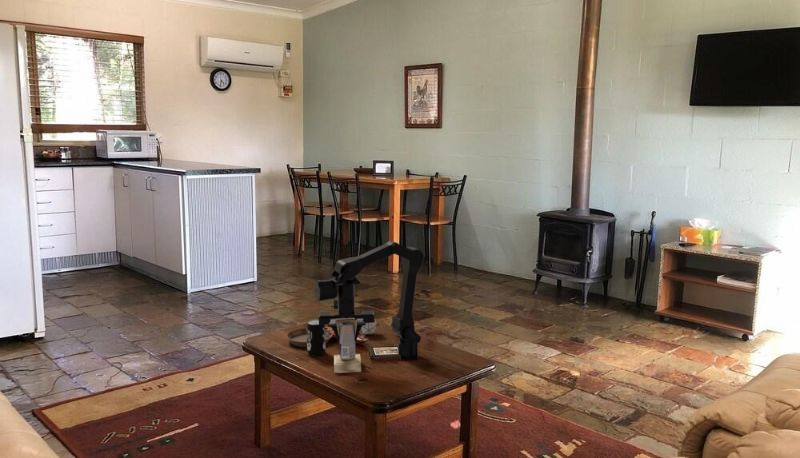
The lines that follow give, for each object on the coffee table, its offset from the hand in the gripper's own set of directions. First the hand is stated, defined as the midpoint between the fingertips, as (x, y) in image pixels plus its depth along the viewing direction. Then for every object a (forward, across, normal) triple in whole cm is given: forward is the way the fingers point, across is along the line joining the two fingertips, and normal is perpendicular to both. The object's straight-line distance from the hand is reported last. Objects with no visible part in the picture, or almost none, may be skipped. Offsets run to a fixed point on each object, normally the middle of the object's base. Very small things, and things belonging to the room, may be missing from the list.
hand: (347, 341), depth 214 cm
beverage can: (+9, +11, -15) cm, 21 cm away
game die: (+10, -9, -34) cm, 36 cm away
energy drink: (+6, 0, 0) cm, 6 cm away
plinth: (+9, 0, 0) cm, 9 cm away
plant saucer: (+10, +14, -29) cm, 34 cm away
